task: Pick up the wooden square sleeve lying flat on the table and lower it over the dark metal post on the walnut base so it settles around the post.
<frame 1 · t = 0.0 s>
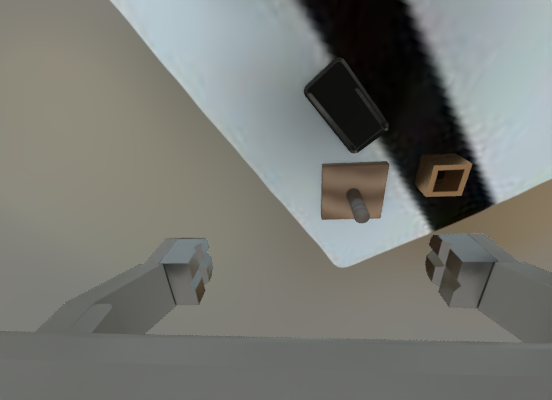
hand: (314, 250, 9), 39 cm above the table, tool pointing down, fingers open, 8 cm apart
phone: (346, 108, 44), on the table
post stand: (351, 190, 51), on the table
wooden square sleeve: (434, 169, 48), on the table
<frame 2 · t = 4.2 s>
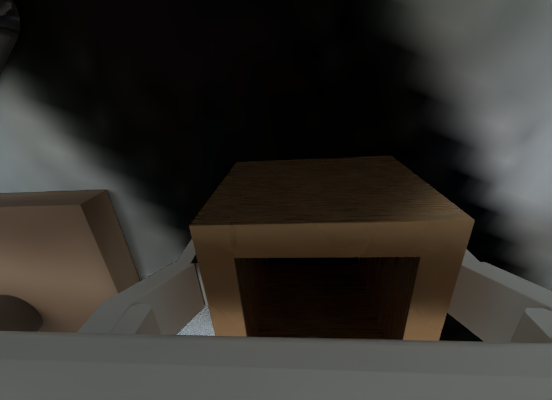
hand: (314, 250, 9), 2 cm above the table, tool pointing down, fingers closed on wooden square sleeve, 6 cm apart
post stand: (43, 291, 14), on the table
wooden square sleeve: (312, 225, 11), on the table, touching gripper
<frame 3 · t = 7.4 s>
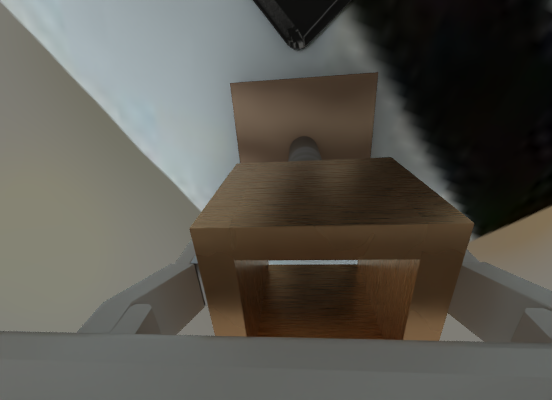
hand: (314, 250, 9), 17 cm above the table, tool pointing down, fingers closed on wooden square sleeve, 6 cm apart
post stand: (303, 146, 25), on the table
wooden square sleeve: (312, 226, 11), point 15 cm above the table, touching gripper
when the fingers open (5 cm above the table, at t = 10.7 s): wooden square sleeve drops 1 cm, resting on post stand.
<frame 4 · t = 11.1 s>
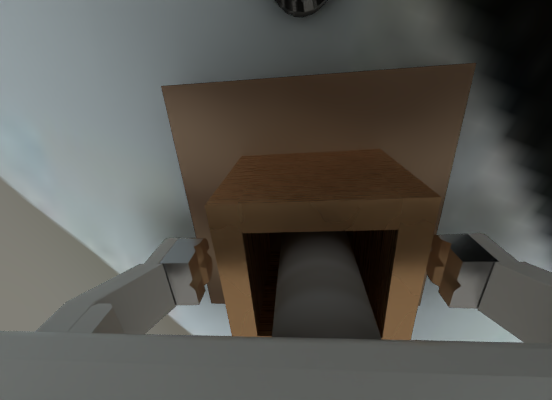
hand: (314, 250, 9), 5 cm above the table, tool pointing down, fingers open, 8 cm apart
post stand: (309, 200, 14), on the table
wooden square sleeve: (310, 213, 12), point 1 cm above the table, touching post stand
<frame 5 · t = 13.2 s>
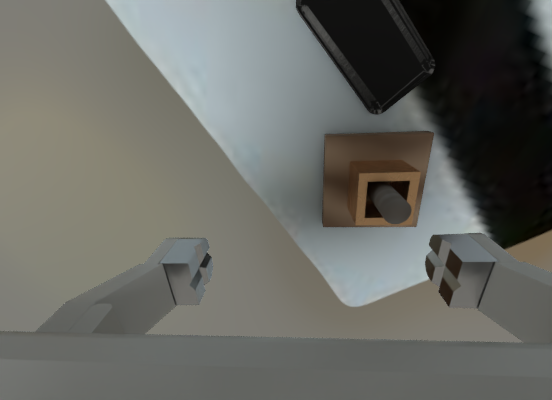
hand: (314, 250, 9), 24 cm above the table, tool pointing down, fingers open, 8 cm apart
phone: (364, 37, 27), on the table
post stand: (370, 180, 33), on the table
wooden square sleeve: (373, 184, 31), point 1 cm above the table, touching post stand
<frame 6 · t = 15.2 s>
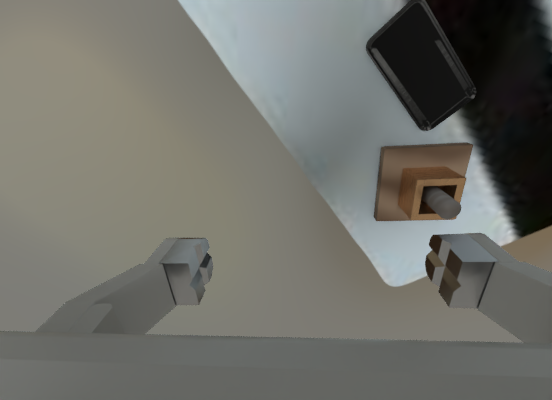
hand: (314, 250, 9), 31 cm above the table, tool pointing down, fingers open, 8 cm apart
phone: (419, 70, 34), on the table
post stand: (416, 182, 40), on the table
wooden square sleeve: (420, 186, 39), point 1 cm above the table, touching post stand
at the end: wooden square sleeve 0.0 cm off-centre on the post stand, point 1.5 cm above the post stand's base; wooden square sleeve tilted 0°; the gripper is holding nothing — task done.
